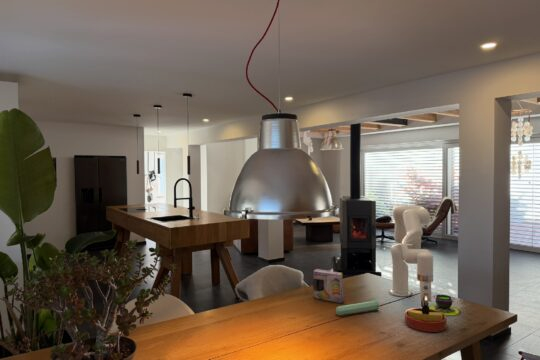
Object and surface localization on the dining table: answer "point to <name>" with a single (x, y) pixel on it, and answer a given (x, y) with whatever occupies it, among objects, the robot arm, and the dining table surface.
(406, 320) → the bowl
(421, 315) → the banana
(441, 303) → the toy cauldron
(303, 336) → the dining table surface
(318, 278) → the cake pan box
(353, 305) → the pale green faceted rod
